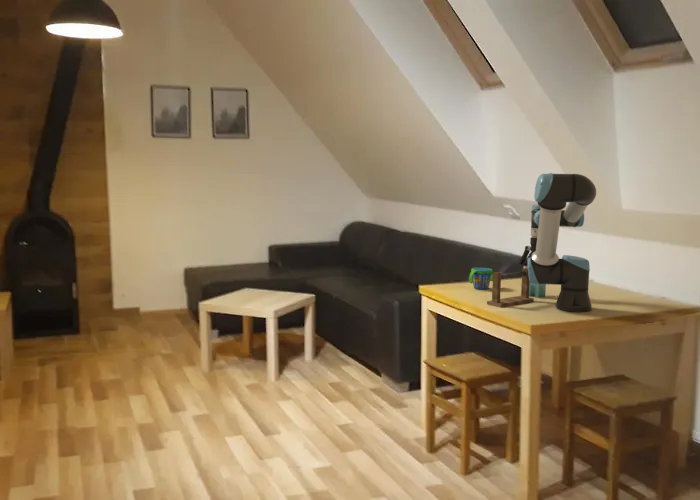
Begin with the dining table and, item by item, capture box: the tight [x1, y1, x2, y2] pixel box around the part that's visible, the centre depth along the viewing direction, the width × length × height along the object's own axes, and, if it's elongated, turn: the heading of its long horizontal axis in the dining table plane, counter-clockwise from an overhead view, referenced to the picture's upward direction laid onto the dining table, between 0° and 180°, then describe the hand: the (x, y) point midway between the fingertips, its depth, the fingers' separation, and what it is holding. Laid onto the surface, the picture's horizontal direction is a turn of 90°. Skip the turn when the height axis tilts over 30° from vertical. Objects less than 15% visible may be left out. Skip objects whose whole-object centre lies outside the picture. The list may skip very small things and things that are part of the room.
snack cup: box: [468, 267, 494, 290], centre depth 369 cm, size 16×10×10 cm
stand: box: [486, 268, 535, 308], centre depth 333 cm, size 23×8×15 cm, turn 127°
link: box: [529, 282, 547, 299], centre depth 350 cm, size 5×7×8 cm
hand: (536, 281), depth 349 cm, fingers open, 13 cm apart
